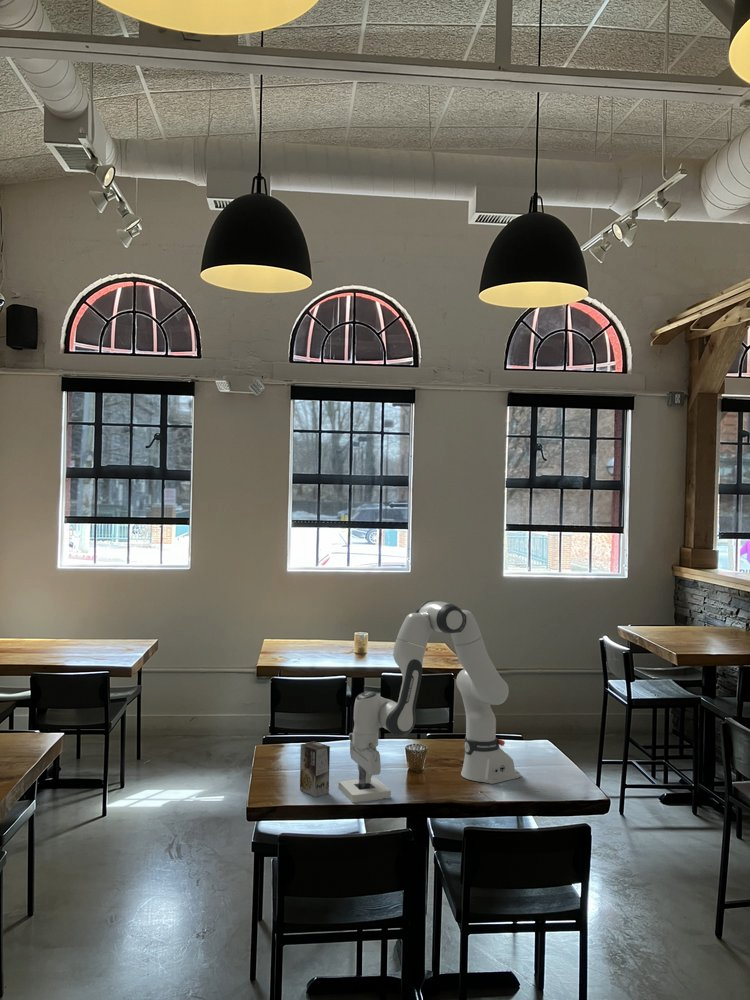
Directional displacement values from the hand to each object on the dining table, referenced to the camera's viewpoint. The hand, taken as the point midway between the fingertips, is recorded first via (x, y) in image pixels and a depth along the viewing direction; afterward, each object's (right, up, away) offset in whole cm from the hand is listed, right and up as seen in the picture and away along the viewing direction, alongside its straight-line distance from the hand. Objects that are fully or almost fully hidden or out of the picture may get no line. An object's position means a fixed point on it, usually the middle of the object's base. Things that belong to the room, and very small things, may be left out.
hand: (364, 779), depth 260 cm
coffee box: (-18, -4, 0) cm, 18 cm away
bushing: (0, -4, 0) cm, 4 cm away
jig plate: (0, -5, 0) cm, 5 cm away
